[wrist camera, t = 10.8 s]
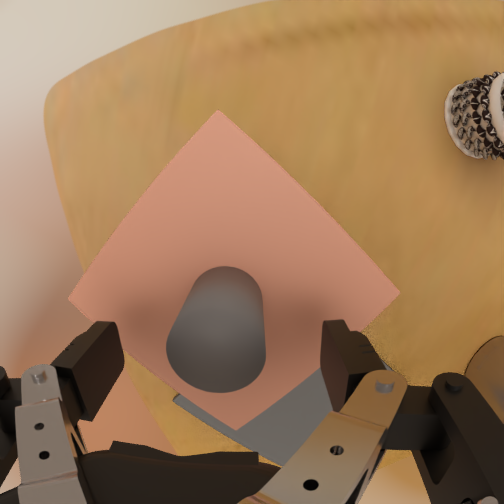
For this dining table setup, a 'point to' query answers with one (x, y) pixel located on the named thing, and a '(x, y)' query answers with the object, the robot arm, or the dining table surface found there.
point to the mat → (277, 420)
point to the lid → (229, 277)
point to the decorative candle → (477, 116)
